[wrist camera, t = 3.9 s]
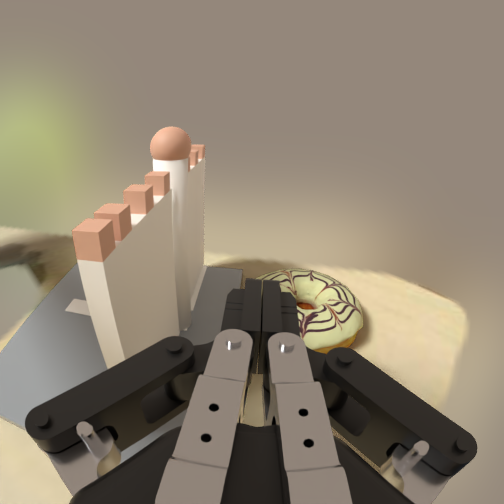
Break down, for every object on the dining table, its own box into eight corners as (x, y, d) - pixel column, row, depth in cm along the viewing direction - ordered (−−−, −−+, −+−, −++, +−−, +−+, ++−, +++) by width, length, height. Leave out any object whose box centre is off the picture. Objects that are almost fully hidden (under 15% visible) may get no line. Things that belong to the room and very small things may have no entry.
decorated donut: (285, 385, 22) (292, 351, 20) (225, 307, 30) (226, 274, 28) (376, 340, 27) (389, 309, 25) (309, 284, 35) (315, 254, 33)
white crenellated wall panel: (165, 331, 25) (153, 169, 19) (179, 333, 25) (171, 170, 19) (131, 427, 16) (71, 230, 10) (149, 431, 16) (98, 232, 10)
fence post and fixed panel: (158, 330, 25) (144, 128, 18) (186, 264, 35) (186, 118, 28) (190, 334, 25) (186, 128, 18) (210, 266, 35) (215, 118, 28)
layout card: (-27, 401, 14) (-31, 396, 14) (85, 258, 36) (85, 253, 35) (215, 484, 14) (215, 480, 14) (242, 273, 35) (242, 268, 35)
